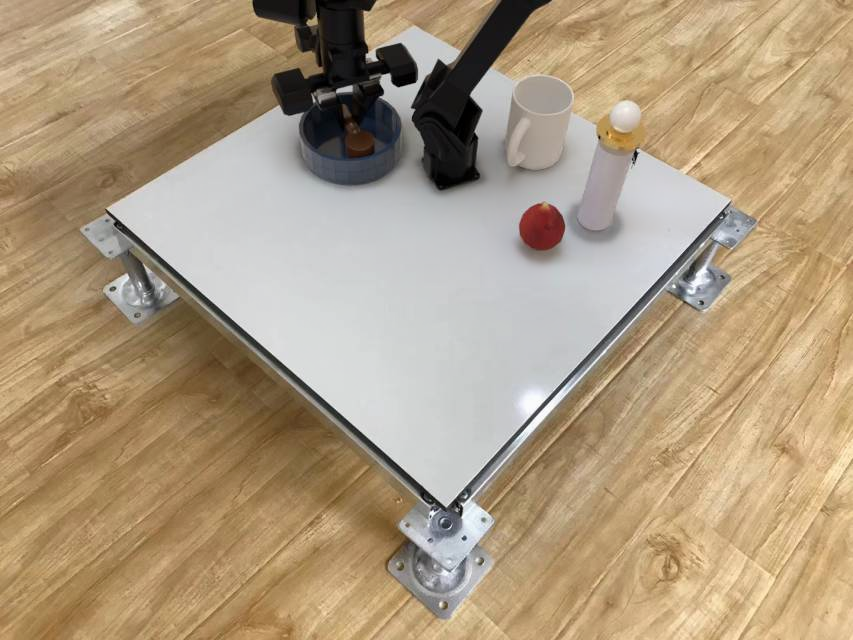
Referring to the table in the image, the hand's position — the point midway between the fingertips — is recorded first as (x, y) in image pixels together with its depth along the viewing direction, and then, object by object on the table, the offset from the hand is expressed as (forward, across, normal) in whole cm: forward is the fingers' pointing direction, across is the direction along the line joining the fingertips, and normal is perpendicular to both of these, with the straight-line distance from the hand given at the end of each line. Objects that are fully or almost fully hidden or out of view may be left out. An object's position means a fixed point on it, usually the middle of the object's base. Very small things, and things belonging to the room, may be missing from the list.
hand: (349, 127), depth 108 cm
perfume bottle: (+4, -25, +26) cm, 36 cm away
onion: (+4, -16, +27) cm, 32 cm away
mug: (+4, -22, +12) cm, 26 cm away
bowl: (+3, 0, +1) cm, 3 cm away
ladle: (+2, 0, +2) cm, 2 cm away
